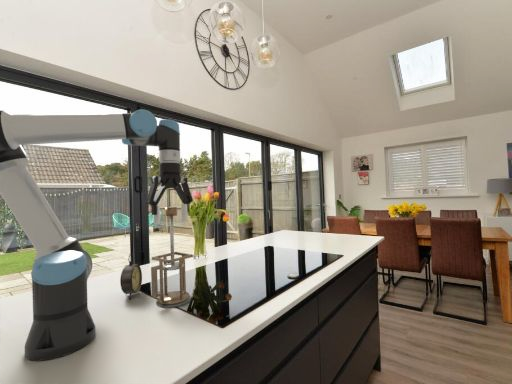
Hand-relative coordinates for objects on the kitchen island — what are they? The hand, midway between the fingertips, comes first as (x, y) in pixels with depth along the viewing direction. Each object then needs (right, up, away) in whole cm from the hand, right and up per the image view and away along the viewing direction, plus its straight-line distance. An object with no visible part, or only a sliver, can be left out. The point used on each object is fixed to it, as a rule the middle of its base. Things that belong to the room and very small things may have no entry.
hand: (171, 222), depth 97 cm
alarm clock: (-18, -30, +6) cm, 35 cm away
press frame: (+1, -29, 0) cm, 29 cm away
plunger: (+1, -16, 0) cm, 16 cm away
